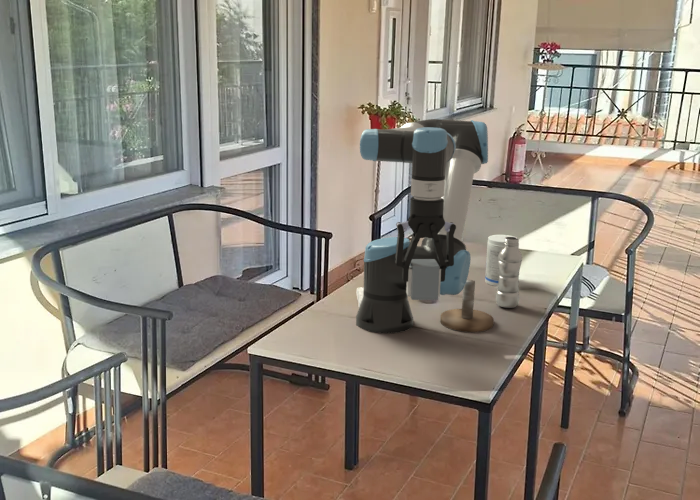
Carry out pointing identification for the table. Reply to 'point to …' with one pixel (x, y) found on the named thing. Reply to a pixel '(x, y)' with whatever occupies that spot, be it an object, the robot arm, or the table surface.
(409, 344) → the table surface
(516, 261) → the plastic bottle
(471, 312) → the peg stand
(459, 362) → the table surface
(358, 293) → the relief plaque
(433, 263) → the light grey rectangular block
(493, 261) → the supplement tub
